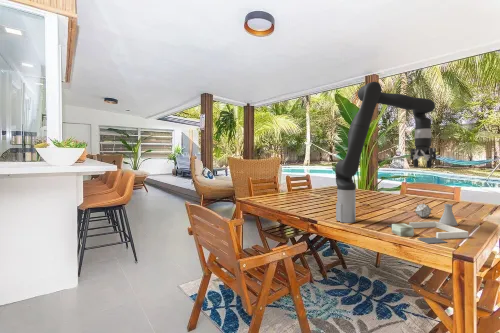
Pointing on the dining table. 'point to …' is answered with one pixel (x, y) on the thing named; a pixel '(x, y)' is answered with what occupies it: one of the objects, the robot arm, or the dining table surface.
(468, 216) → the dining table surface
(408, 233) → the sage block
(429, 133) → the robot arm
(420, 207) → the game die
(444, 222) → the flask
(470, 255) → the dining table surface
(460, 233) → the grey u-shaped bracket
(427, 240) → the mats
